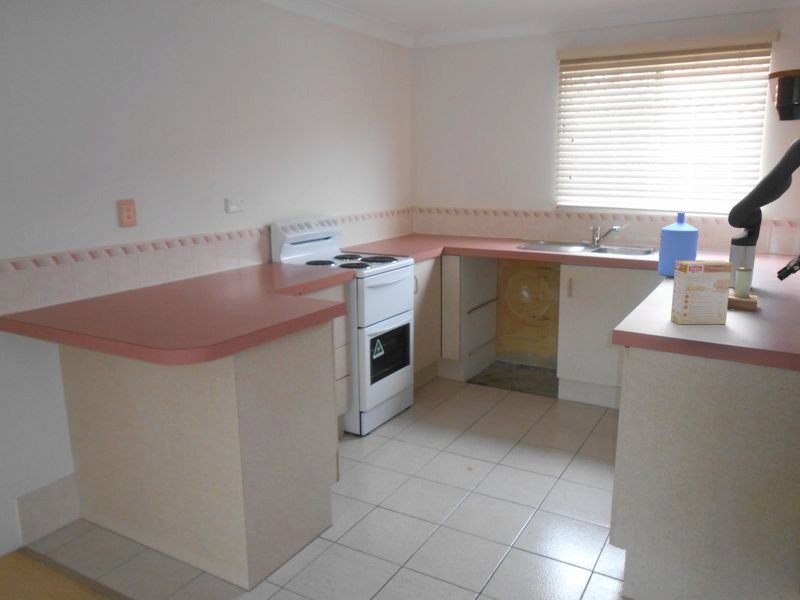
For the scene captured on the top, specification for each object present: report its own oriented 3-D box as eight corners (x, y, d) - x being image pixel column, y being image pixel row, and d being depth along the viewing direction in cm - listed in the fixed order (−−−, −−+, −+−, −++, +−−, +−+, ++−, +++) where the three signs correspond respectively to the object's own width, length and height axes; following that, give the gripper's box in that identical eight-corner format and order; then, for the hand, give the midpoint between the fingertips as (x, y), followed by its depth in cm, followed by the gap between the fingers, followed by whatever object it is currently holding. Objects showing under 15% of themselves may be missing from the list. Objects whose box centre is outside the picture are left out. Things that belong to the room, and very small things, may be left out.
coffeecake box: (715, 319, 213) (721, 259, 209) (726, 324, 206) (733, 262, 202) (669, 319, 212) (674, 259, 208) (679, 324, 205) (685, 263, 201)
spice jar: (734, 294, 233) (736, 266, 231) (749, 295, 231) (752, 267, 229) (733, 296, 229) (736, 268, 227) (749, 298, 226) (752, 269, 224)
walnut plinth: (725, 303, 237) (726, 292, 236) (756, 306, 232) (757, 295, 232) (723, 308, 229) (724, 297, 228) (755, 311, 224) (757, 300, 223)
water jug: (698, 278, 290) (704, 214, 284) (660, 277, 293) (665, 214, 287) (690, 273, 305) (695, 212, 299) (654, 271, 308) (659, 211, 302)
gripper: (813, 234, 222) (770, 266, 230) (815, 238, 210) (770, 271, 218) (830, 251, 221) (786, 282, 228) (833, 256, 208) (787, 288, 216)
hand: (778, 276), depth 223 cm, fingers open, 8 cm apart
